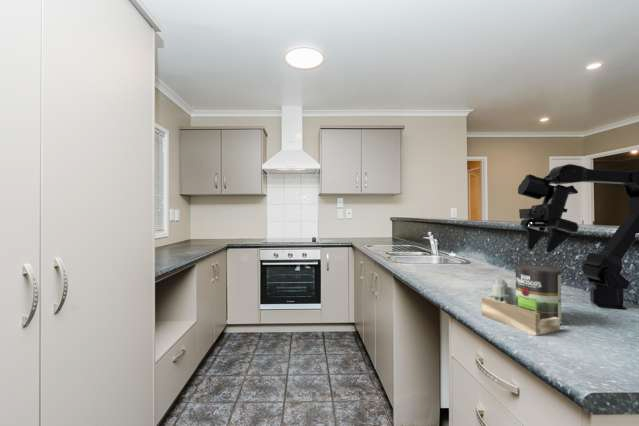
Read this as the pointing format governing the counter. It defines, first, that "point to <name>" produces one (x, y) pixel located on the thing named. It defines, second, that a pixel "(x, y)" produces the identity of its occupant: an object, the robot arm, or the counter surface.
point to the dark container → (539, 289)
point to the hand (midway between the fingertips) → (538, 250)
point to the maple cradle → (518, 317)
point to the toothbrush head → (499, 290)
